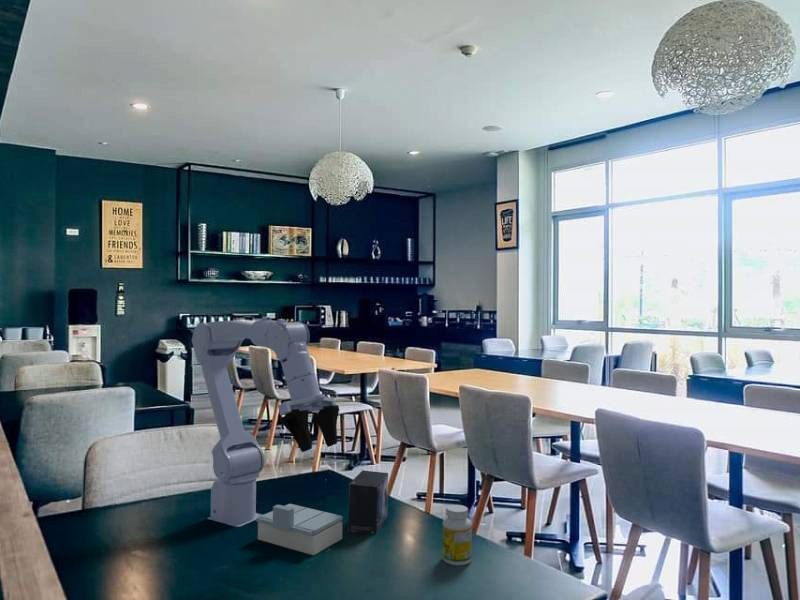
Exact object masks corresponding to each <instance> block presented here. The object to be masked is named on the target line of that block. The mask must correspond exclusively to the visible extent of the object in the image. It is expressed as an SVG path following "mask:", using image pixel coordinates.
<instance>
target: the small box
mask: <svg viewBox="0 0 800 600" xmlns="http://www.w3.org/2000/svg"><path fill="white" fill-rule="evenodd" d="M351 480H352V481H350V483H349V484H348V515H347V516H348V517H347V518H348V519H347V520H348V521H347V523H348V524H347V532H348V533H358V534H370V535H377V534H378V532H379V531H380V529H381V528H382V526H383V524H385V522H386V520H387V518H388V499H389V497H388V495H389V489H388V488H389V473H388V472H380V471H373V470H363V469H362V470H361V471H360V472H359V473H358V474H357V476H355V477H354V478H353V479H351Z"/></svg>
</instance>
